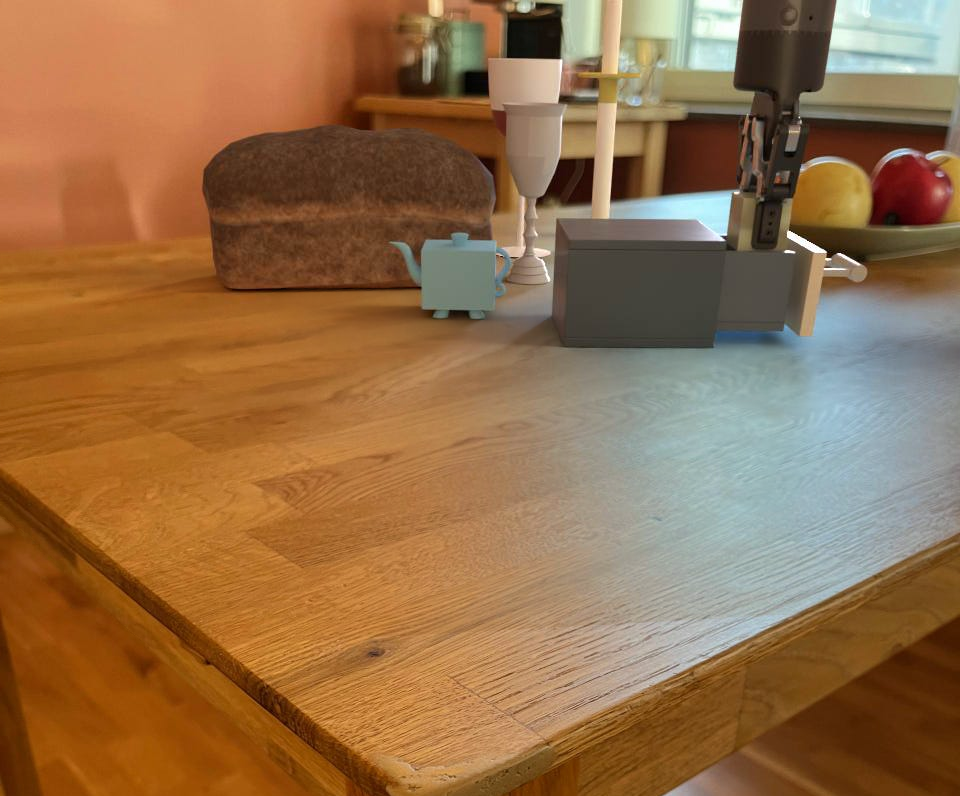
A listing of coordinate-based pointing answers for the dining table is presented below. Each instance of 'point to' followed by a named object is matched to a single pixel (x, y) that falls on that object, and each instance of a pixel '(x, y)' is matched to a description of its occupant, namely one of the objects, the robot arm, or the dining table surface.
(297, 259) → the bread
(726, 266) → the drawer
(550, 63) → the wineglass
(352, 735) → the dining table surface
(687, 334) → the cabinet
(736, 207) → the block
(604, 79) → the candle
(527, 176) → the chalice
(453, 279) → the teapot
